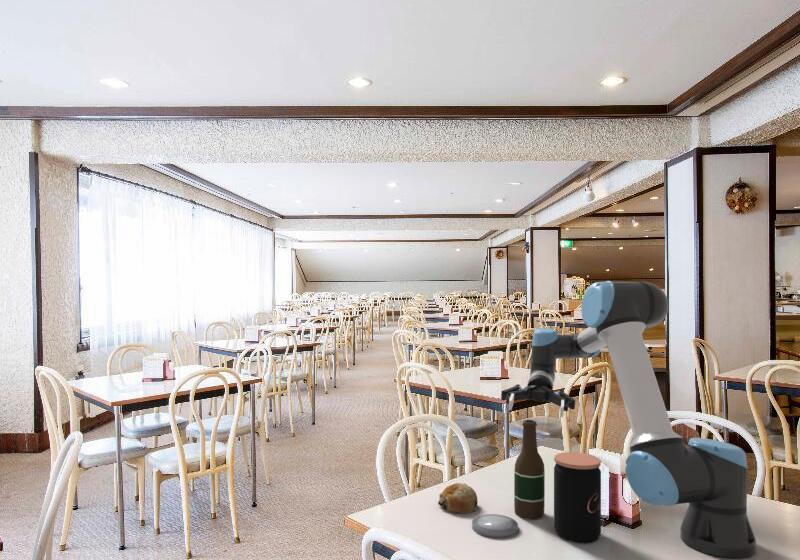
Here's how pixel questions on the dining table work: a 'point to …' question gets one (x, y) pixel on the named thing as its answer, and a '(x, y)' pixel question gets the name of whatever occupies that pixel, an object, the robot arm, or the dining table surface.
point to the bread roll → (458, 498)
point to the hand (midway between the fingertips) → (535, 408)
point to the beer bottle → (529, 476)
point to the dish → (495, 526)
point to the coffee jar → (577, 497)
